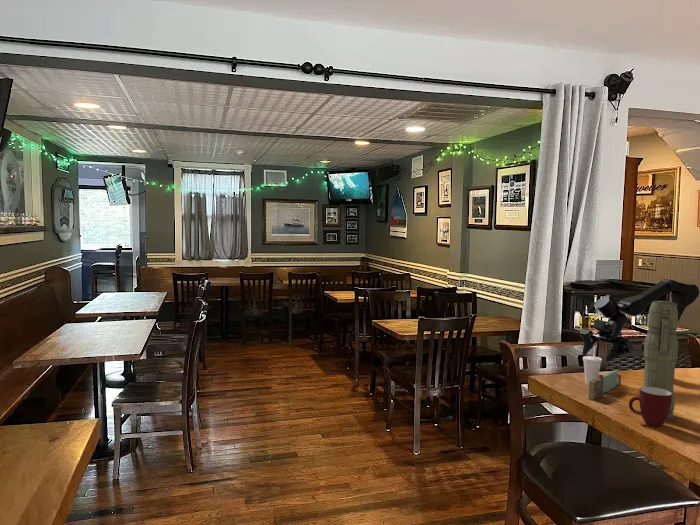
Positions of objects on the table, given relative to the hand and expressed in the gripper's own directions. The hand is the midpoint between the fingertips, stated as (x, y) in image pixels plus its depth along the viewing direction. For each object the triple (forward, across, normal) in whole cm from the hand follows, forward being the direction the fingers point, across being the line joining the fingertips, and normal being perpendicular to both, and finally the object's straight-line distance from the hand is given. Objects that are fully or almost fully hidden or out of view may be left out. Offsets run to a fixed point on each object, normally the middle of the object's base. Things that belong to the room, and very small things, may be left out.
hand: (594, 357), depth 185 cm
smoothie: (+8, 0, +6) cm, 10 cm away
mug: (+23, +32, -9) cm, 40 cm away
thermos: (+15, +29, -1) cm, 33 cm away
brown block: (+11, +8, +3) cm, 14 cm away
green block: (+8, +8, +5) cm, 12 cm away
